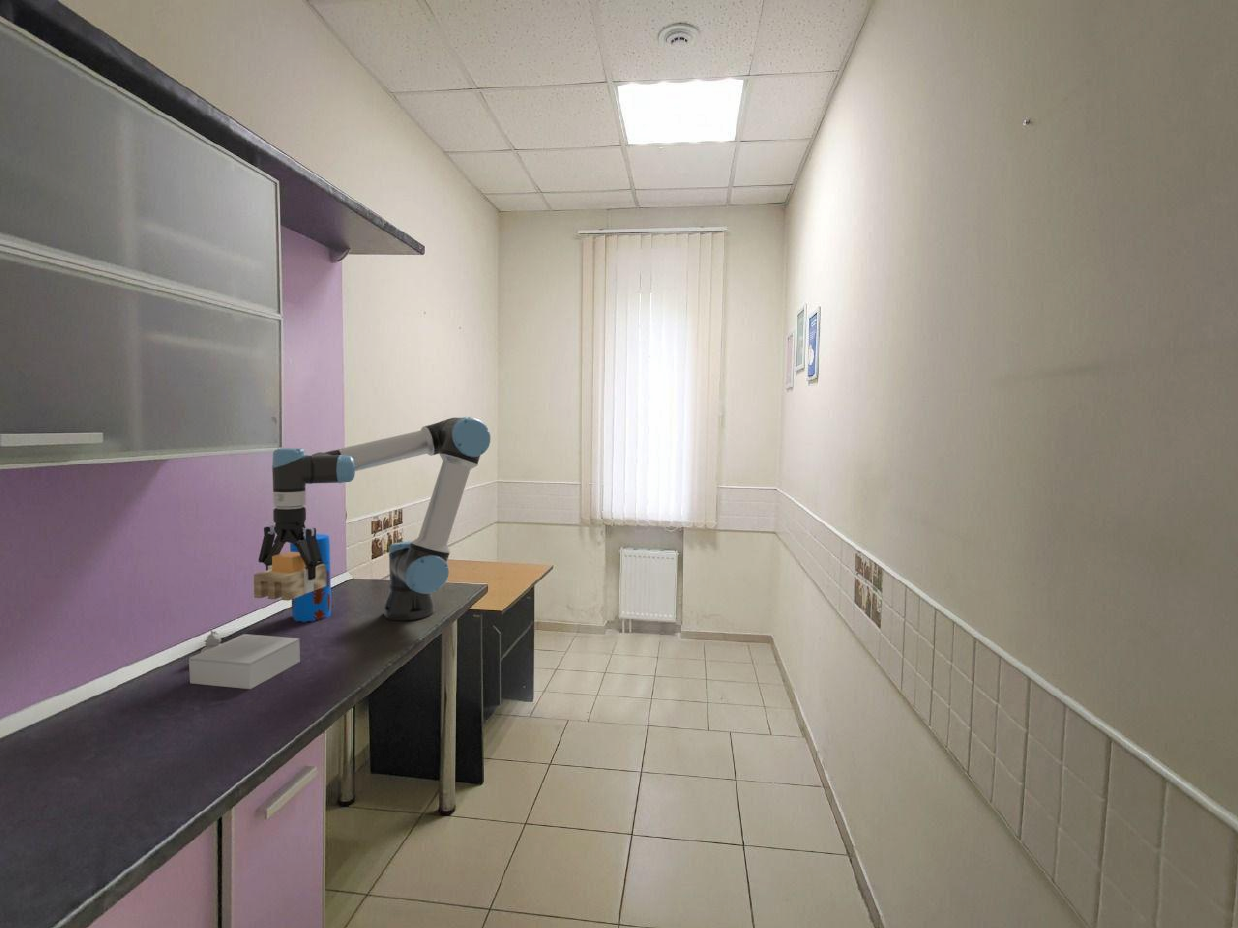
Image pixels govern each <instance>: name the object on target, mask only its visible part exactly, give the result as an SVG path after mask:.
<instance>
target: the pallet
mask: <svg viewBox="0 0 1238 928" xmlns="http://www.w3.org/2000/svg"><path fill="white" fill-rule="evenodd" d="M325 586H326V565H324V564H321V565H318V566H316V578H315V579H314V591H315V590H317V589H320V588H322V587H325ZM311 592H312V591H311ZM309 593H310V592H309ZM304 594H307V593H304V569H303V570H300V571H297V572H294V573H286V572H273V571H272V569H271V570H267V571H266V570H264V571H262V572H257V573H255V574H253V597H254V599H264V598H266V597H267V599H268V600H277V599H279V598H281V601H288V602H289V601H292V599H294V598H297V597H299V596H302V595H304Z"/></svg>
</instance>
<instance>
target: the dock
mask: <svg viewBox="0 0 1238 928" xmlns="http://www.w3.org/2000/svg"><path fill="white" fill-rule="evenodd" d="M300 653H301V651H300V638H298V637H297V638H296V637H283V636H273V635H272V636H271V635H261V634H258V635H257V634H246V633H245V634H244V633H243V634H241V635H239V636H236V637H234V638H232V639H230V640H228V641H225V642H223V643H220V645H218V646H216V647H213V648H211V649H209V650H206V651H204V652H202V653H201V652H199V653H197V654H194V655H192V656H190V657H188V665H189V666H188V667H189V668H188V670H189V684H193V685H194V684H195V685H203V686H204V685H205V686H214V687H225V688H233V689H235V688H236V689H245V690H252V689H254V688H256V687H257V686H258V685H261V684H263V683H264V682H266V681H268V680H270V679H272V678H274V677H275V676H277V675H279V674H281V673H283V672H285V671H286V670H287V669H289V668H291V667H294V666H295V665H297V664H298V663H300V662H301V654H300Z"/></svg>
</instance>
